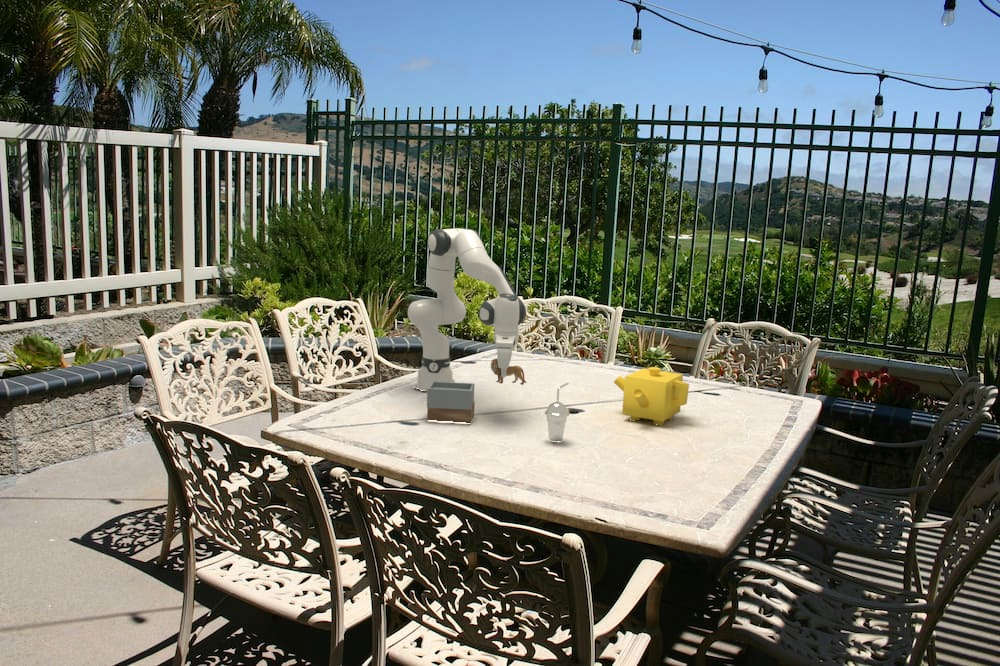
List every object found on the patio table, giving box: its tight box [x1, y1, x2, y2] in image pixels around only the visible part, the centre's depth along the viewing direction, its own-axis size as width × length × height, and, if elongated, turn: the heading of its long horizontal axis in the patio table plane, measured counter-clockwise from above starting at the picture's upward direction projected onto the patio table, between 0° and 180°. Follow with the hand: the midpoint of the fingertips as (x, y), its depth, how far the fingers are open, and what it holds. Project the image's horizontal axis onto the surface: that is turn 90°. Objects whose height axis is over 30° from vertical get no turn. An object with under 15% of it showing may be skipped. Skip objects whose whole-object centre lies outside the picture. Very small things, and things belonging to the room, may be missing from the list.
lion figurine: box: [490, 358, 528, 386], centre depth 299 cm, size 15×5×9 cm, turn 109°
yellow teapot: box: [613, 366, 690, 426], centre depth 311 cm, size 35×29×20 cm
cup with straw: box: [544, 382, 570, 442], centre depth 277 cm, size 8×9×20 cm
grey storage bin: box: [426, 381, 475, 410], centre depth 299 cm, size 12×16×7 cm
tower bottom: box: [426, 401, 476, 424], centre depth 300 cm, size 12×16×6 cm
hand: (504, 375), depth 299 cm, fingers closed on lion figurine, 4 cm apart
